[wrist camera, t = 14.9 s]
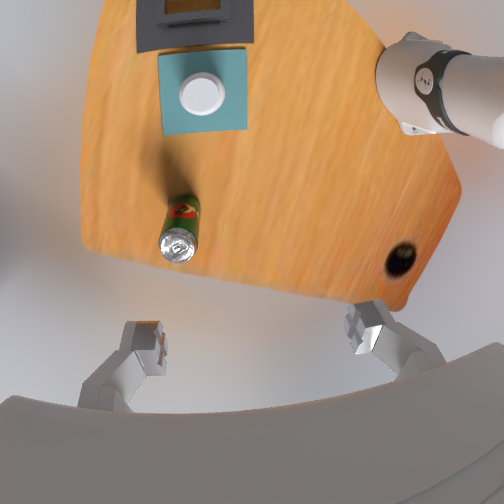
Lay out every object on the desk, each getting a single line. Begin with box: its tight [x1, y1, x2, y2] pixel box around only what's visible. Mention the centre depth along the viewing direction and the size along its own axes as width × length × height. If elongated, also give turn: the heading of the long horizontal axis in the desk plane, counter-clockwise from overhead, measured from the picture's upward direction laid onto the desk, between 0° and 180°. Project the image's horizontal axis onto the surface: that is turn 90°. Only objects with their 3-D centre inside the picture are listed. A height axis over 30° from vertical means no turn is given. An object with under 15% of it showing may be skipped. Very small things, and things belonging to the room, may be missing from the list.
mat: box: [158, 49, 247, 136], centre depth 35 cm, size 12×12×1 cm
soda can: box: [159, 195, 201, 263], centre depth 40 cm, size 5×5×12 cm
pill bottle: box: [179, 72, 225, 115], centre depth 31 cm, size 5×5×10 cm
